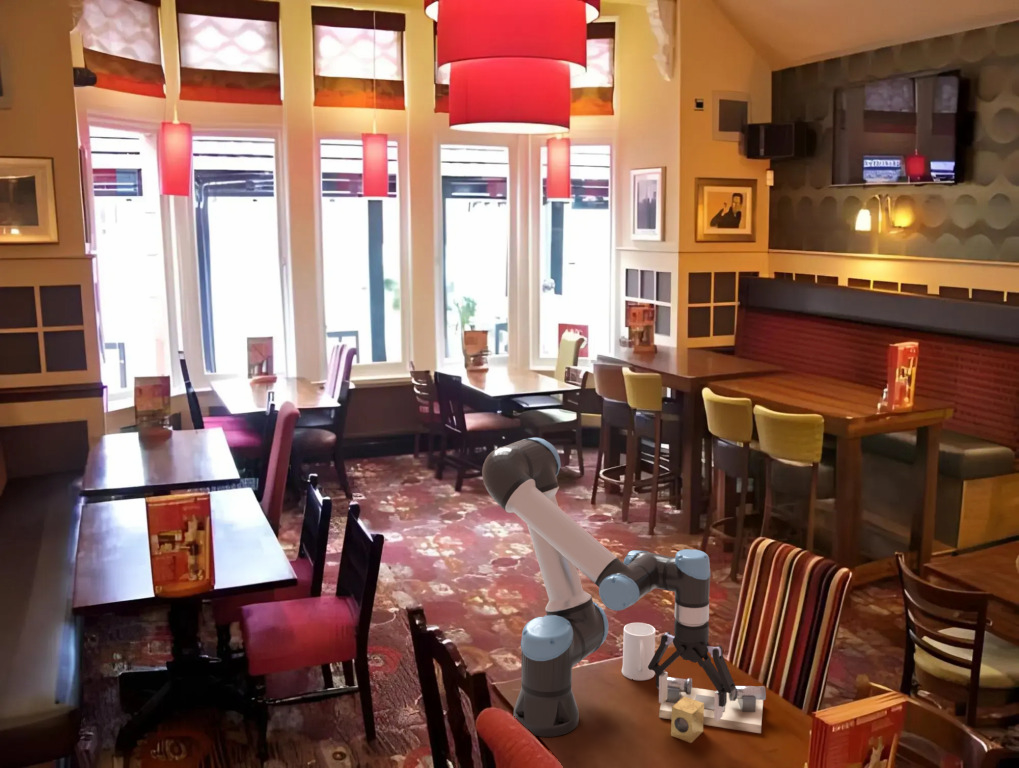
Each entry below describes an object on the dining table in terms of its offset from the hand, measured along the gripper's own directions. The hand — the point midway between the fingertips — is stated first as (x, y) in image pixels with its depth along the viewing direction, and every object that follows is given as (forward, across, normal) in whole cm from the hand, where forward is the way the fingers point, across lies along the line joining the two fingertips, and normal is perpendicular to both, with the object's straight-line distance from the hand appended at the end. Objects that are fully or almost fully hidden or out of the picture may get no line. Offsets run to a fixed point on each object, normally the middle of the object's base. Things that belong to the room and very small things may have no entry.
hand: (690, 709), depth 208 cm
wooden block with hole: (+6, +1, 0) cm, 6 cm away
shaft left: (+4, +9, -9) cm, 13 cm away
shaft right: (+4, -7, -16) cm, 18 cm away
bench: (+6, 0, -12) cm, 14 cm away
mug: (+6, +23, -17) cm, 29 cm away
